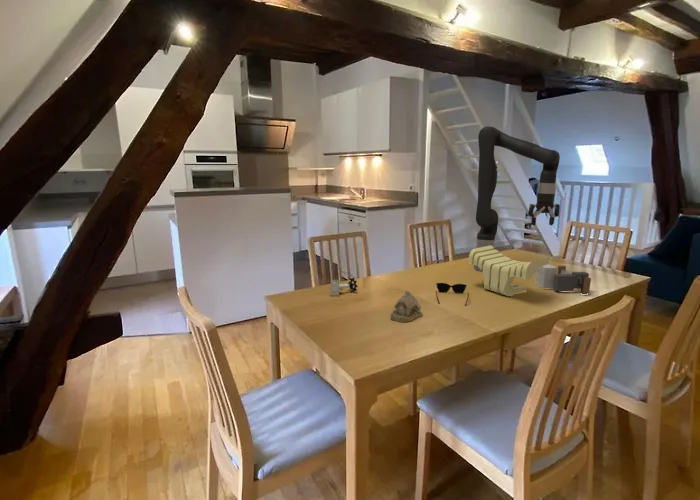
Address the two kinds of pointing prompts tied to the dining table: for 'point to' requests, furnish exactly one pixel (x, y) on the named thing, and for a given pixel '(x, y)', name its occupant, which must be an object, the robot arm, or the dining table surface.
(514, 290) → the slatted curved stool
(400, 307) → the ceramic model
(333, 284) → the valve
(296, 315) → the dining table surface
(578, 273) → the collar
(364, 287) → the dining table surface
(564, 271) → the brown l-shaped piece
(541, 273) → the small box
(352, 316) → the dining table surface
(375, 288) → the dining table surface
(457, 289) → the sunglasses
